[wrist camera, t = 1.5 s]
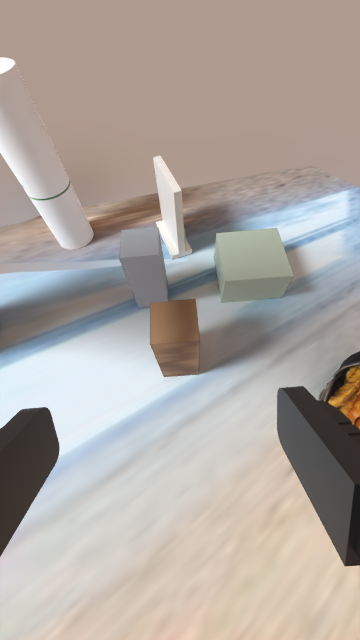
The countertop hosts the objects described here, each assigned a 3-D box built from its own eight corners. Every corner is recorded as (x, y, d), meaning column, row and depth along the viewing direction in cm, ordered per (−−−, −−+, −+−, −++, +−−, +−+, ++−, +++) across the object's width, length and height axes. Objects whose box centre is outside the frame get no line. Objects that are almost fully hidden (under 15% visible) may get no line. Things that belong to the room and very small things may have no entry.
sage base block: (221, 303, 41) (224, 281, 35) (213, 258, 45) (216, 233, 40) (281, 298, 40) (294, 275, 35) (267, 254, 45) (277, 228, 40)
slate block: (138, 308, 41) (118, 258, 30) (139, 284, 43) (121, 230, 33) (168, 305, 41) (158, 254, 30) (167, 282, 43) (158, 227, 33)
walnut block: (163, 376, 35) (150, 344, 24) (163, 344, 37) (150, 302, 27) (198, 374, 35) (199, 340, 24) (195, 342, 37) (195, 299, 27)
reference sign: (172, 259, 45) (164, 195, 34) (156, 226, 50) (144, 159, 39) (192, 253, 46) (190, 187, 35) (174, 220, 51) (168, 153, 39)
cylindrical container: (84, 220, 52) (4, 53, 30) (99, 238, 49) (23, 67, 28) (53, 235, 51) (-55, 70, 29) (67, 255, 48) (-41, 87, 26)
